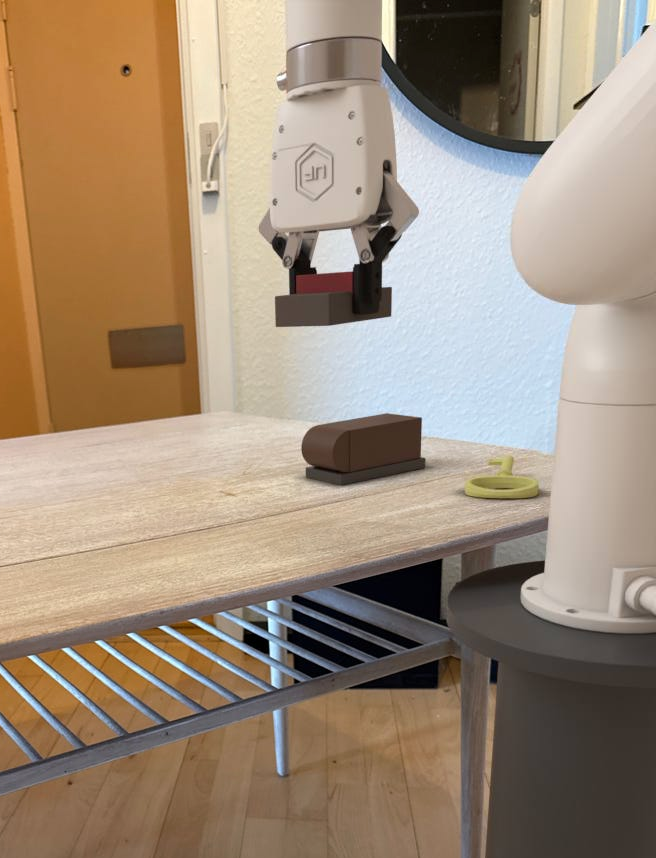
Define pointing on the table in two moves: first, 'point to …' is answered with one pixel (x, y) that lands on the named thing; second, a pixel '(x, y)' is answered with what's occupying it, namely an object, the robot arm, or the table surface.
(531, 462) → the table surface
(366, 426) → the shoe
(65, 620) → the table surface
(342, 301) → the two-tier step block
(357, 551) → the table surface
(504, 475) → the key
